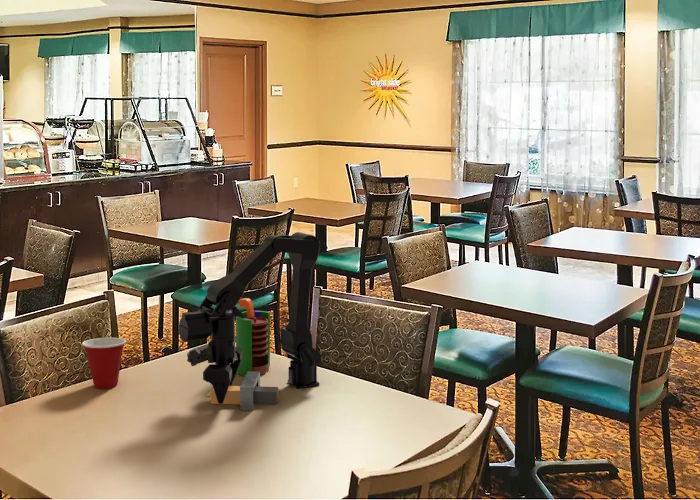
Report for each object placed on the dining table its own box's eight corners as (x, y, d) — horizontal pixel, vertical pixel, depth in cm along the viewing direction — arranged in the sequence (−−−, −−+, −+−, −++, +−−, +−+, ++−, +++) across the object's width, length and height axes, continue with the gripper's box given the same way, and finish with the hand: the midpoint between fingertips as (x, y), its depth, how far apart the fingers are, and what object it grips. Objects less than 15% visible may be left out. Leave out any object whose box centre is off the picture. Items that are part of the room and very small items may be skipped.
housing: (260, 393, 198) (259, 371, 197) (253, 410, 187) (252, 387, 186) (248, 393, 198) (247, 371, 197) (240, 410, 187) (240, 387, 186)
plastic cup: (131, 377, 209) (129, 334, 207) (123, 391, 198) (121, 346, 196) (89, 378, 208) (87, 334, 206) (79, 392, 197) (77, 346, 195)
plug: (278, 400, 194) (278, 386, 193) (276, 405, 190) (276, 391, 190) (210, 398, 194) (209, 385, 194) (207, 403, 191) (206, 390, 190)
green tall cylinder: (262, 377, 210) (261, 305, 206) (230, 375, 211) (229, 303, 208) (273, 365, 220) (273, 296, 216) (243, 363, 221) (242, 294, 218)
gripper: (198, 324, 199) (200, 383, 202) (180, 346, 181) (182, 410, 183) (242, 325, 199) (243, 384, 201) (228, 346, 180) (229, 411, 183)
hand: (224, 396), depth 192 cm, fingers open, 8 cm apart
